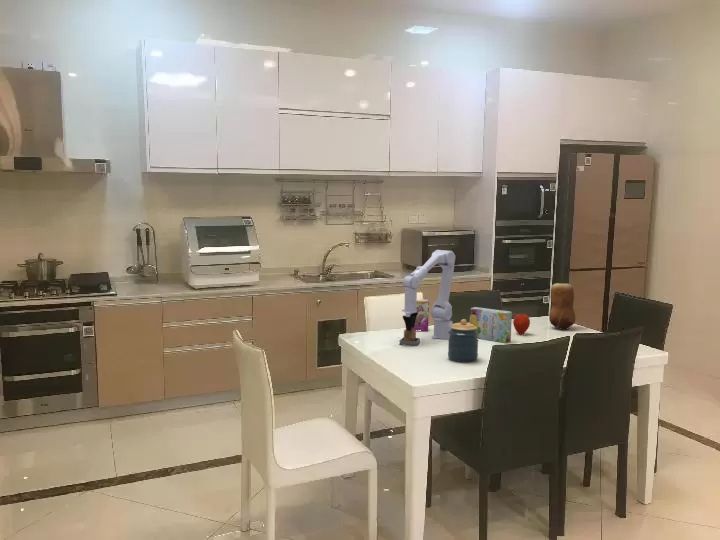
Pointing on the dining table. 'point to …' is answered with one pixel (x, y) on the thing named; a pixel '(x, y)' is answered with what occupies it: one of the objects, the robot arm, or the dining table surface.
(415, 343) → the tray
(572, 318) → the butternut squash
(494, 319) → the snack box
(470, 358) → the canister
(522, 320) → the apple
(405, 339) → the block
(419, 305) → the candy bar box
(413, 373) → the dining table surface
